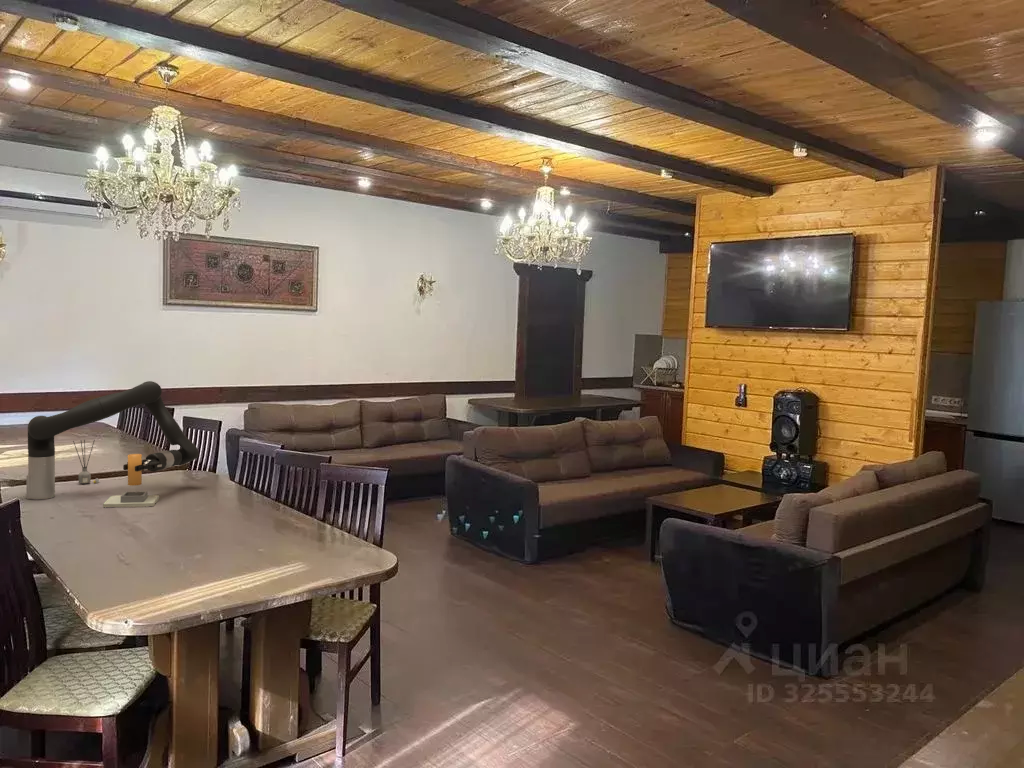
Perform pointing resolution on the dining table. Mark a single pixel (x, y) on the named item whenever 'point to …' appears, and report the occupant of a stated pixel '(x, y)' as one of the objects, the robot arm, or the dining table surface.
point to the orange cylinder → (133, 475)
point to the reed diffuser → (85, 469)
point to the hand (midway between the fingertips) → (130, 468)
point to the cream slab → (132, 500)
